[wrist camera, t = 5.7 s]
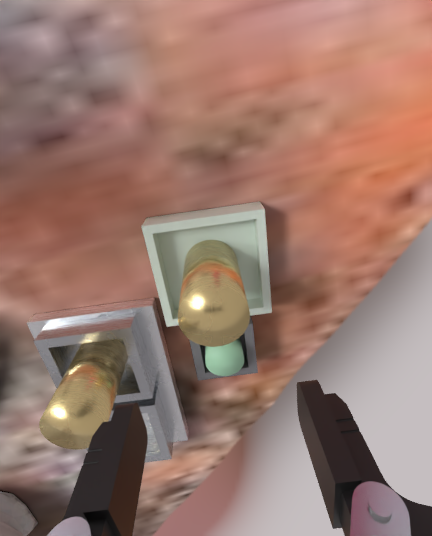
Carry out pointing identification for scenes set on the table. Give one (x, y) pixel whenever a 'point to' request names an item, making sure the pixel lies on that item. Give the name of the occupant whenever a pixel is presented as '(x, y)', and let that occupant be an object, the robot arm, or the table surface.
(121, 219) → the table surface
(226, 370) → the button
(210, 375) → the console
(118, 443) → the robot arm
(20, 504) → the ceramic pitcher
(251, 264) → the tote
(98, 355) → the billet
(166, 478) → the table surface
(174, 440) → the tray
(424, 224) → the table surface
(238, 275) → the billet
